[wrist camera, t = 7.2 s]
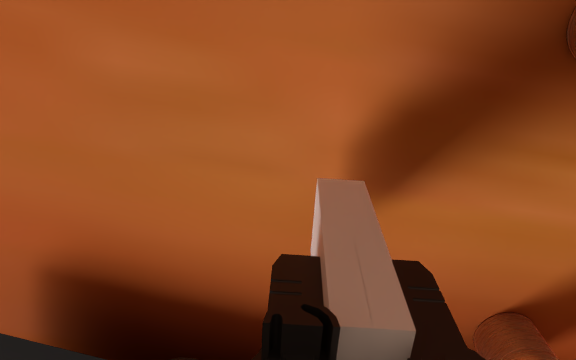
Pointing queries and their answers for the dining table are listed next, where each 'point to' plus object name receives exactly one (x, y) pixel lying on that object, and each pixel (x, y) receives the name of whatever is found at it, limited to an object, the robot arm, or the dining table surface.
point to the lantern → (35, 351)
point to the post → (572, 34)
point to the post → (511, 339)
